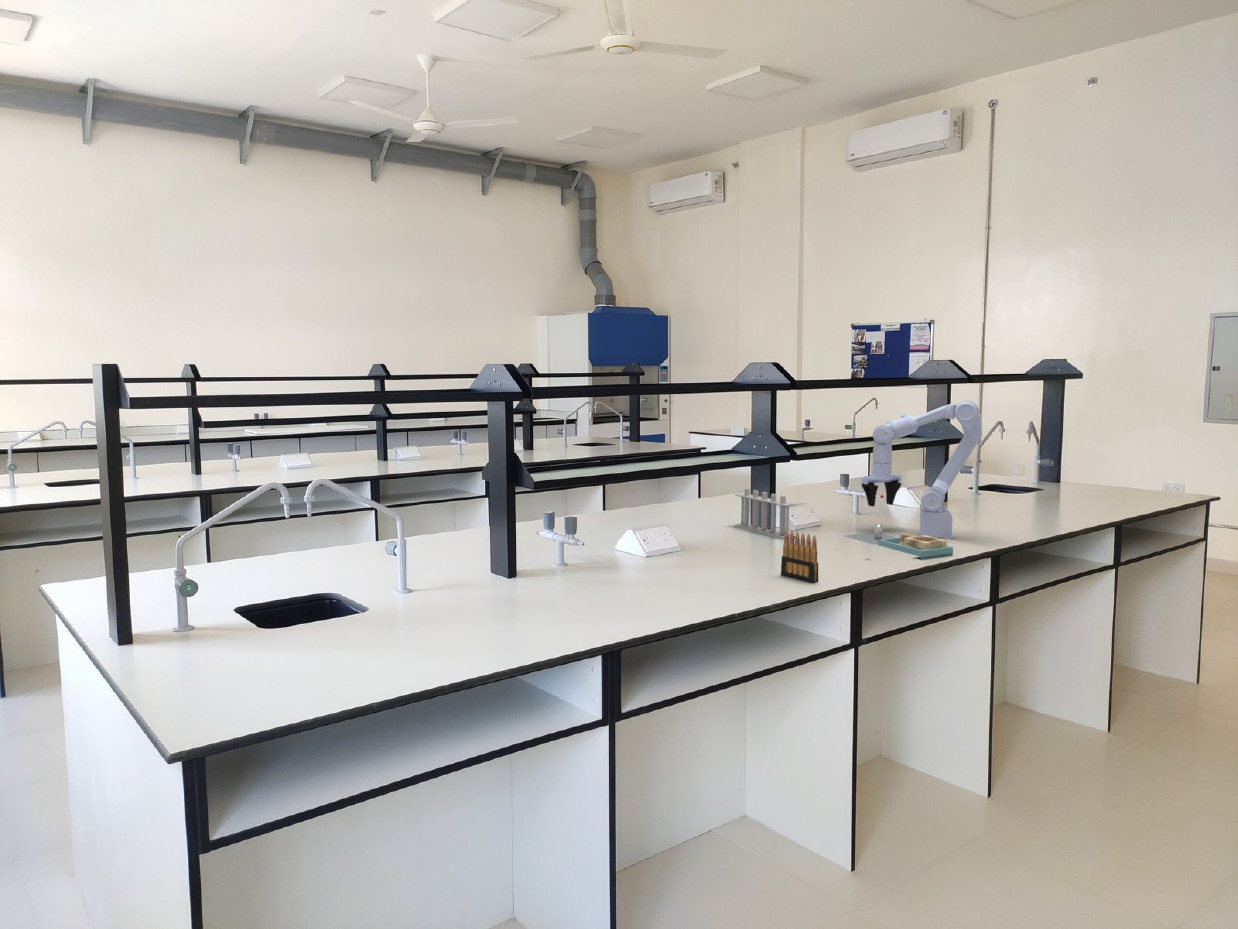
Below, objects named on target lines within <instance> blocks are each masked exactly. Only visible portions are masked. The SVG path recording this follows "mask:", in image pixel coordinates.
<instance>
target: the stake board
mask: <svg viewBox="0 0 1238 929" xmlns="http://www.w3.org/2000/svg"><path fill="white" fill-rule="evenodd" d="M883 527H884V526H883V524H880V523H874V526H873V531H872V532H864V533H854V534H845V535H843V537H844V538H845V537H846V538H849V539H853V540H857V541H861V542H863V543H864V542H865V543H868V544H871V545H878V540H881V539H889V538H897V537H895V536H892V535H888V534H884V533H883Z"/></svg>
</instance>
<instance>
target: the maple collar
mask: <svg viewBox="0 0 1238 929" xmlns="http://www.w3.org/2000/svg"><path fill="white" fill-rule="evenodd" d="M899 537H900V543H899V544H900V545H904V546H908V547H911V548H915V549H919V550H927V549H934V548H942V547H946V545H947V540H945V539H942V538H934V537H930V536H926V535H923V536H920V535H916V534H915V535H914V534H909V533H900V536H899Z"/></svg>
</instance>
